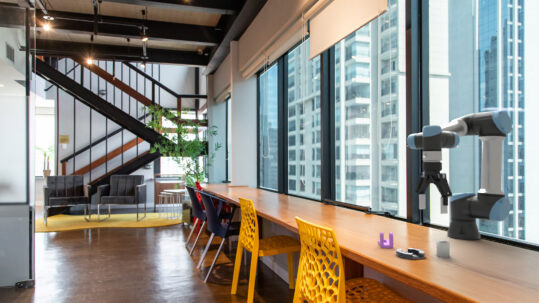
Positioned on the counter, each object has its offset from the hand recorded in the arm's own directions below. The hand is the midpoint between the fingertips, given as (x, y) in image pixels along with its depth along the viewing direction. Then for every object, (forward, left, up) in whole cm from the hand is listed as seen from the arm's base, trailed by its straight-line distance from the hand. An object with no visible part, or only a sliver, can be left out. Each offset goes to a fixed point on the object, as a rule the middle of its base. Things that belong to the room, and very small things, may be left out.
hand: (432, 211), depth 150 cm
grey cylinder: (-3, +3, -19) cm, 19 cm away
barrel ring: (+10, -1, -18) cm, 21 cm away
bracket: (+9, -21, -19) cm, 30 cm away
